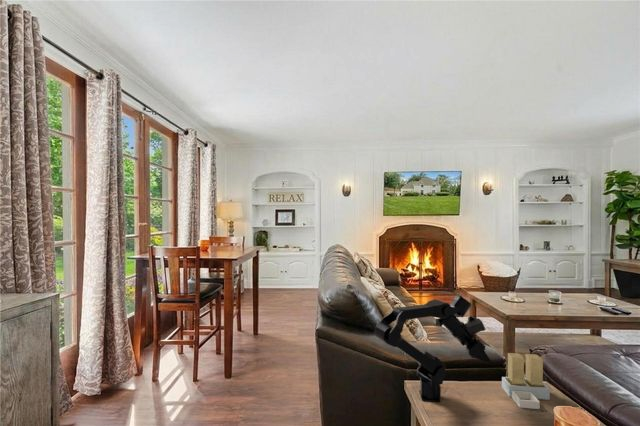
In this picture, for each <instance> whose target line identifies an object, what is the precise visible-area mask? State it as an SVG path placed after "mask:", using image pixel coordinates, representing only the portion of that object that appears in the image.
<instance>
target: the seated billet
mask: <svg viewBox="0 0 640 426" xmlns="http://www.w3.org/2000/svg"><path fill="white" fill-rule="evenodd" d="M543 363H544V362H543V358H541V357H540V355H538V354H533V353H525V378H526V383H527V384H528V385H529V386H530V387H543V383H544V382H543V381H544V378H543V377H544V375H543V374H544V373H543V371H544V369H543V367H544V366H543Z"/></svg>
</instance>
